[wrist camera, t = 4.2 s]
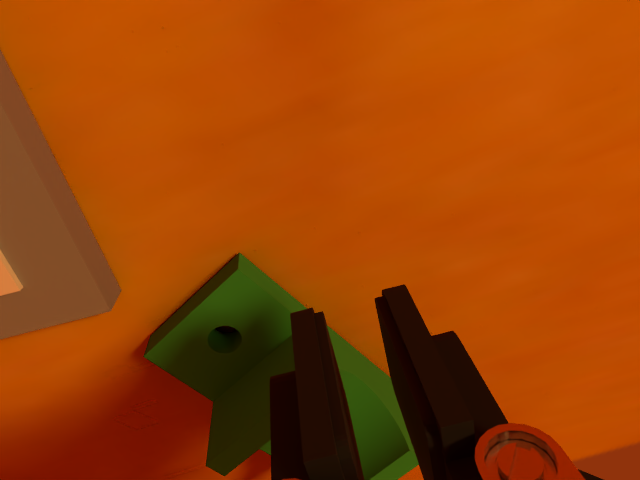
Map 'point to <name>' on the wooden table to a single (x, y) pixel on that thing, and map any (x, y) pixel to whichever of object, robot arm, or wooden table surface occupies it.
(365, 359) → the pipe clamp
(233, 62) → the wooden table surface
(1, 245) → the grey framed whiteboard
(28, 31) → the wooden table surface
